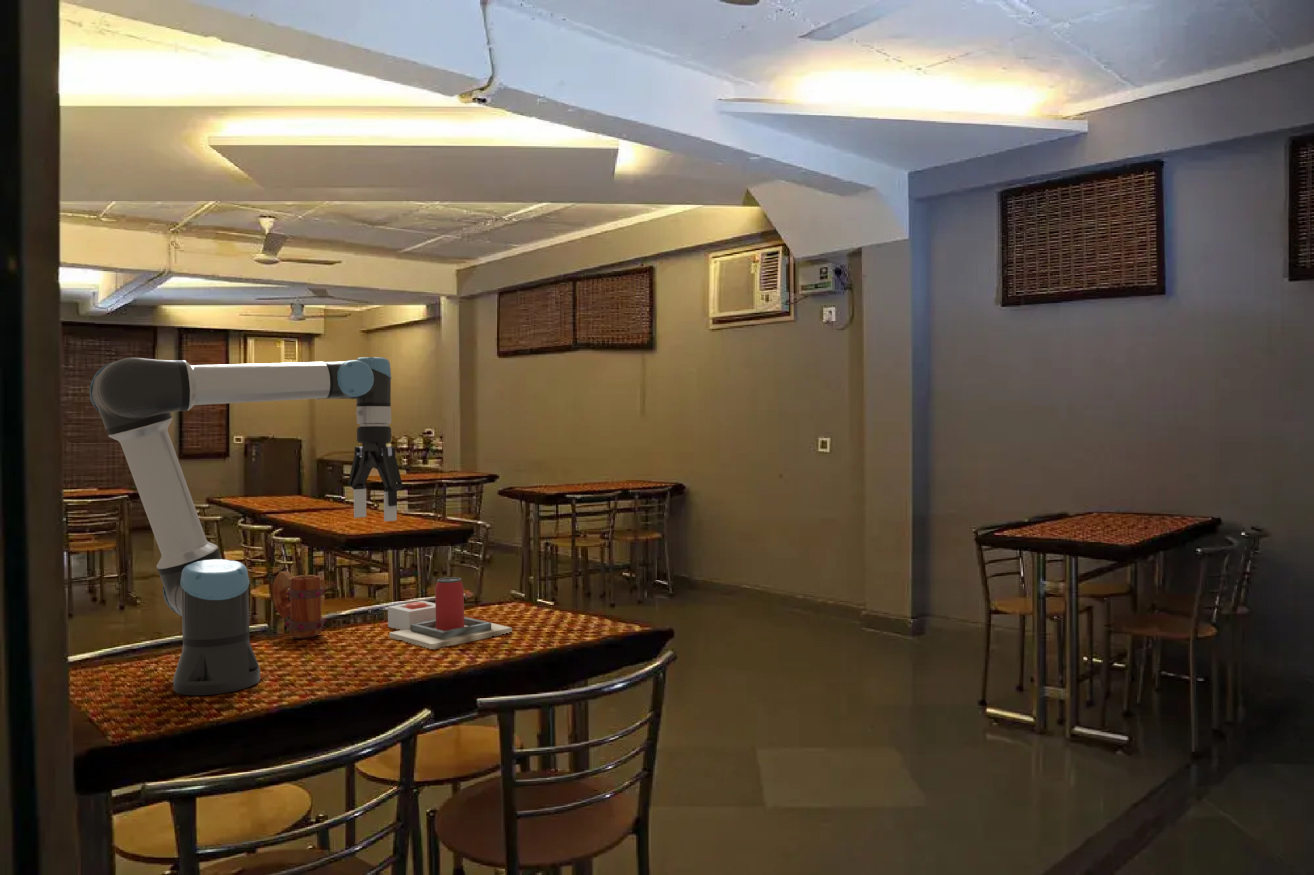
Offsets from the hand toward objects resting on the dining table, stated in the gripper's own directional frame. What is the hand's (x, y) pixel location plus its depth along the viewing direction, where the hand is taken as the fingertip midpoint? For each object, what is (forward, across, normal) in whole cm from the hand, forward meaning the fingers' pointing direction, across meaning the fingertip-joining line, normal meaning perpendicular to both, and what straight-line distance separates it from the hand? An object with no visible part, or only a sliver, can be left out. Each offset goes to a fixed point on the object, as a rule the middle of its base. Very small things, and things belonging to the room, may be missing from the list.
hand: (375, 519), depth 212 cm
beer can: (+27, +6, +16) cm, 32 cm away
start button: (+26, -9, +16) cm, 32 cm away
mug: (+29, -22, -8) cm, 37 cm away
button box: (+28, -9, +16) cm, 34 cm away
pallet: (+28, +6, +16) cm, 33 cm away
